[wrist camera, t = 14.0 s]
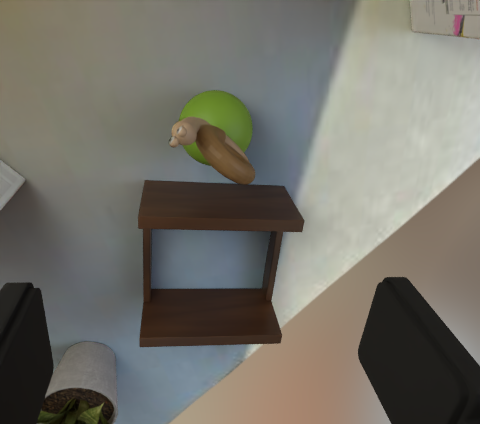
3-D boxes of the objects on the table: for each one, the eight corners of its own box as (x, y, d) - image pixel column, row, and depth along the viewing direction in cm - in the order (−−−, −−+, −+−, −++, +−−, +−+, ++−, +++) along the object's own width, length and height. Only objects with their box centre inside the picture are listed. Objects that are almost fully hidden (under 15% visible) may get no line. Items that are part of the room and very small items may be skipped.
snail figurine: (196, 60, 30) (206, 91, 19) (260, 113, 33) (300, 167, 22) (153, 117, 32) (142, 175, 21) (218, 164, 34) (236, 237, 23)
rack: (144, 180, 34) (138, 216, 28) (284, 185, 36) (304, 220, 30) (144, 297, 39) (139, 347, 33) (266, 296, 41) (280, 343, 35)
